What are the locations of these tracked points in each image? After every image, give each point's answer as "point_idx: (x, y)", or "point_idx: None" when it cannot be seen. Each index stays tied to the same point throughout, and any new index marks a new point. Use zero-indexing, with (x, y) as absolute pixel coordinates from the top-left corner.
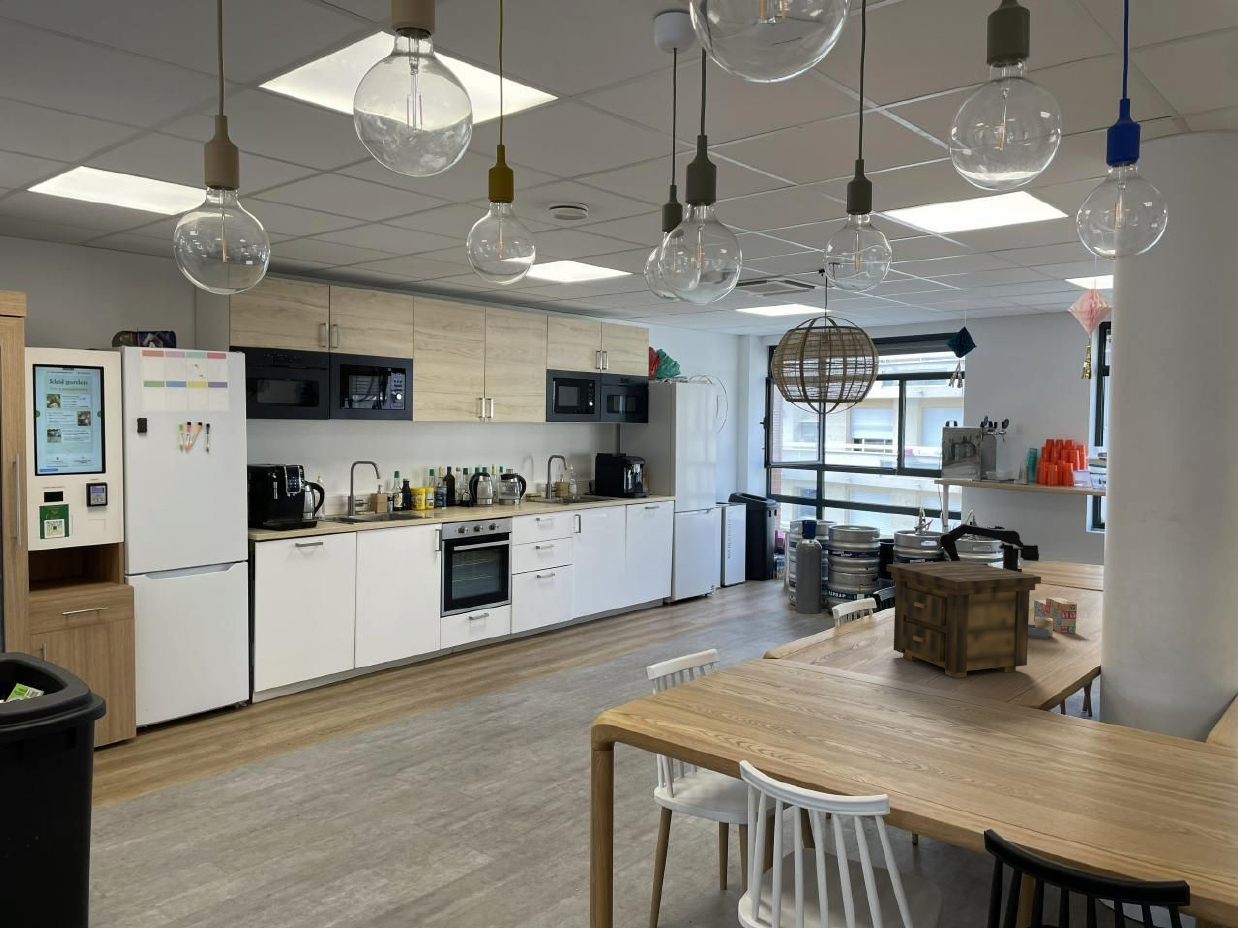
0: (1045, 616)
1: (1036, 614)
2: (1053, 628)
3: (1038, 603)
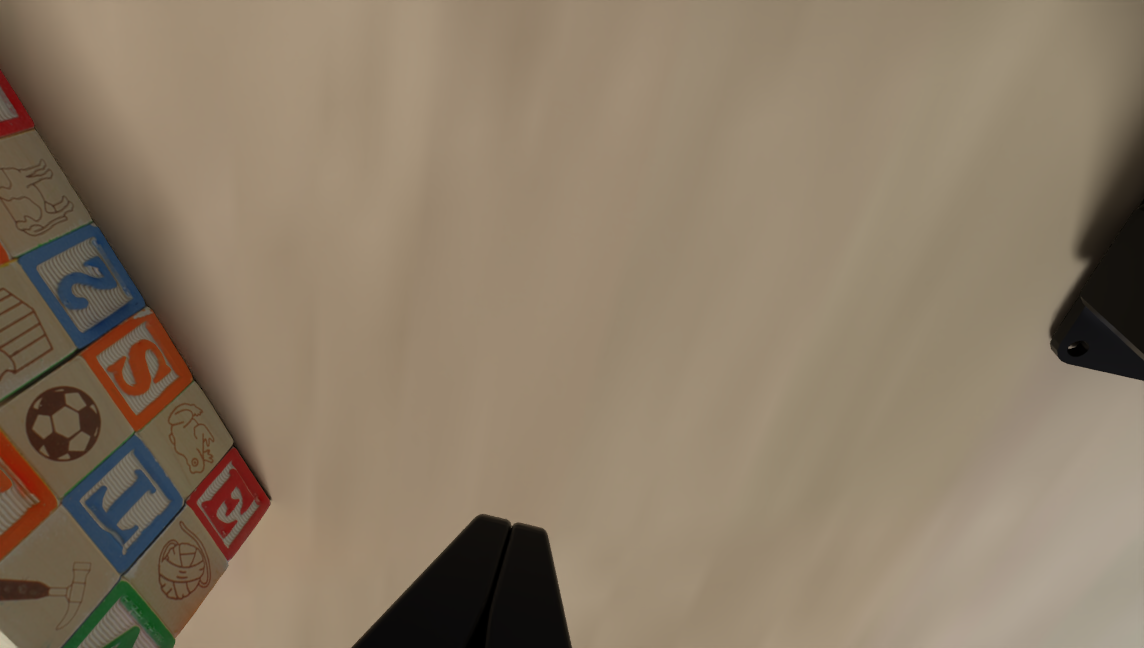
0: (50, 368)
1: (197, 529)
2: (12, 117)
3: (56, 634)
